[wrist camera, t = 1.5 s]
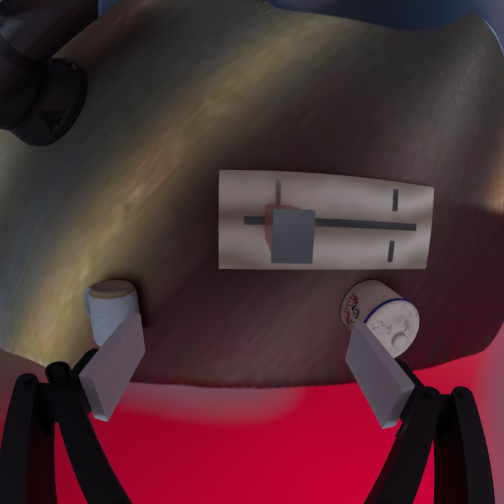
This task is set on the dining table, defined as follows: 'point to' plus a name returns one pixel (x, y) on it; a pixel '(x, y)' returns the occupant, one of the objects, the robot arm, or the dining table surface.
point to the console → (326, 219)
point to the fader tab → (289, 234)
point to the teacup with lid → (381, 314)
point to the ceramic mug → (109, 306)
